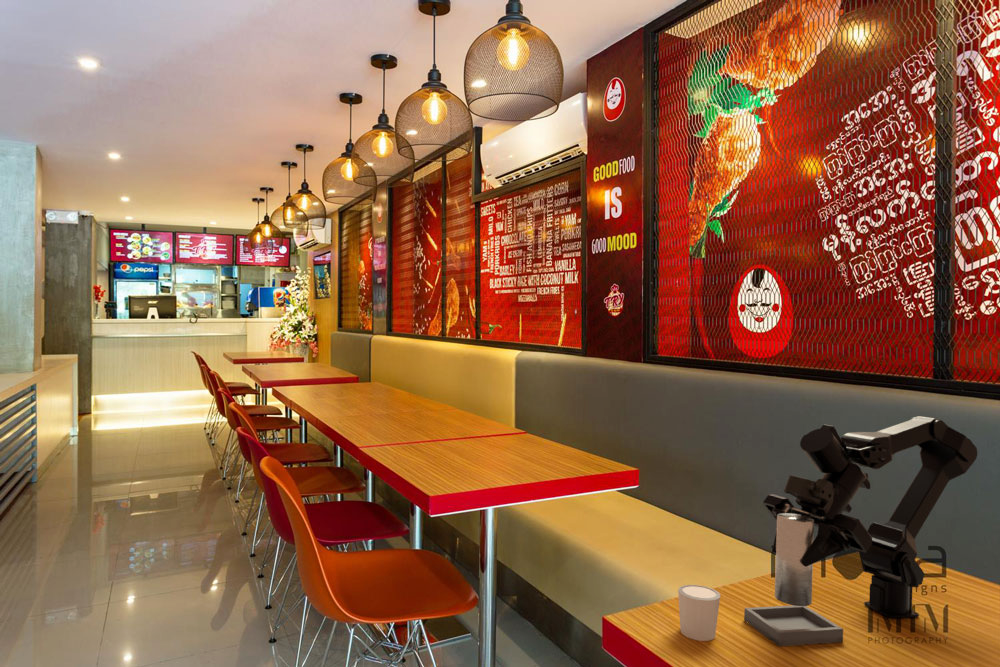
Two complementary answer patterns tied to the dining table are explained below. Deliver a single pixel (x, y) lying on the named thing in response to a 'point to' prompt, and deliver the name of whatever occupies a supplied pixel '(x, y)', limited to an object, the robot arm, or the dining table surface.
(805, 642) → the tray
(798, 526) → the silver metal cylinder
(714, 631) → the white cup
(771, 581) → the dining table surface
